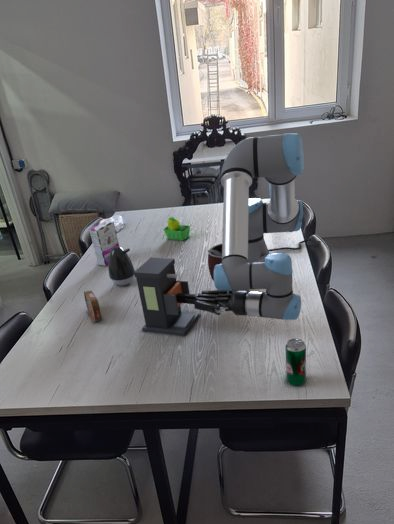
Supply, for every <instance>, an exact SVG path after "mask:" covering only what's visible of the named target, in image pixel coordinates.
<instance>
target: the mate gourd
mask: <svg viewBox="0 0 394 524" xmlns="http://www.w3.org/2000/svg"><path fill="white" fill-rule="evenodd" d="M207 252H208V253H207V267H208V270H209V275H210V278H211V280H212V281H213V282H214V267H215V265H218V264H222V243H219V244H215V245H213V246H211V247H210V248H209V249H208V250H207ZM247 262H248V261H247ZM236 291H238V290H233V293H235V292H236ZM240 291H248V292H249V289H245V290H240Z"/></svg>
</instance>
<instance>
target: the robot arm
mask: <svg viewBox="0 0 394 524" xmlns="http://www.w3.org/2000/svg"><path fill="white" fill-rule="evenodd" d="M303 143H304V142H303V139H302V136H301V135H300V134H299V133H287V132H286V133H282V134H273V135H265V136H251V137H247V138H244V139H242V140H241V141H239V142H237V143H236V144H235V145H234V146H233V148H231V150H230V151H229V153H228V154H227V156H226V158H225V159H224V162H223V164H222V168H221V171H220V185H221V186H222V188H223V208H222V236H221V237H222V239H221V244H222V264H218V265H215V267H214V281H213V284H214V287H215V289H216V290H215V289H214V290H202V291H201V292H199V293H197V294H195V293H190V294H184V293H178V294H177V295H176V298H177V303H182V304H185V305H194V309H195V310H199V311H203V312H208V313H212V314H214V315H216V316H221V314H222V312H232V313H233V314H234V315H235V316H243V317H247V316H248V317H253V318H255V317H256V318H264V319H275V320H282V321H295V320H297V319H298V318H299V316H300V315H301V309H302V298H301V296H300V295H299V294H296V293H294V290H293V259H292V257H291V256H290V255H289V254H287V253H285V252H275V251H283V250H291V251H296V250H300V249H301V248H302V246H301V245H302V244H304V243H307V242H309V241H312V240H311V239H312V238H307V239H304V240H301V241H299V242H298V247H289V246H288V247H287V246H286V247H285V246H284V247H277V248H270V249H269V247H268V245H267V243H266V241H265V234H275V233H276V234H277V233H278V234H279V233H293V232H298V231H300V230H301V228H302V224H303V218H304V217H303V216H304V208H303V207H304V205H303V201H302V200H300V199H299V200H298V199H297V198H296V196H295V194H296V192H295V191H296V189H295V188H296V187H295V186H296V185H295V183H296V182H295V180H296V178H297V177H298V176H299V175H302V174H303V173H304V171H305V154H304V153H305V152H304V144H303ZM254 178H255V179H258V178H259V179H261V178H264V179H265V181H266V182H267V183H268V190H269V199H270V200H269V201H268V202H263V199H262V198H260V197H251V198H250V197H249V196H250V187H251V186H252V185H253V179H254ZM270 252H274V253H270ZM247 261H248V262H247ZM245 289H247V290H248V291H240V290H245ZM233 290H238V291H236V292H235V293H233ZM249 290H251V291H249ZM252 290H253V291H252ZM254 290H255V291H254ZM256 290H265V292H264V291H256Z"/></svg>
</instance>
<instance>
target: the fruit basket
mask: <svg viewBox="0 0 394 524" xmlns="http://www.w3.org/2000/svg"><path fill="white" fill-rule="evenodd" d="M190 229H191V225H185V224H180V221H179V220H178V219H177V218H175V217H174V216H170V217H168V219H167V226H165V227H164V228H162V230H163V232H164V233H165V236H166V238H167V239H168V240H174V241H181V242H183V241H184V240H186V239H187V238H189V236H190Z"/></svg>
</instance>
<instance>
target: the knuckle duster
mask: <svg viewBox="0 0 394 524" xmlns="http://www.w3.org/2000/svg"><path fill="white" fill-rule="evenodd" d="M105 221H113V222H114V226H115V230H116V233H119V231H120V230H122V229H123V228H124V226H125V223H126V222H127V220H126V219H125V220H124V218H123V217H122V215H113V216H111V217H108V218H103V219H101V220H100V221H99V222H98V224H97V225H99V224H101V223H103V222H105Z"/></svg>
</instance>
